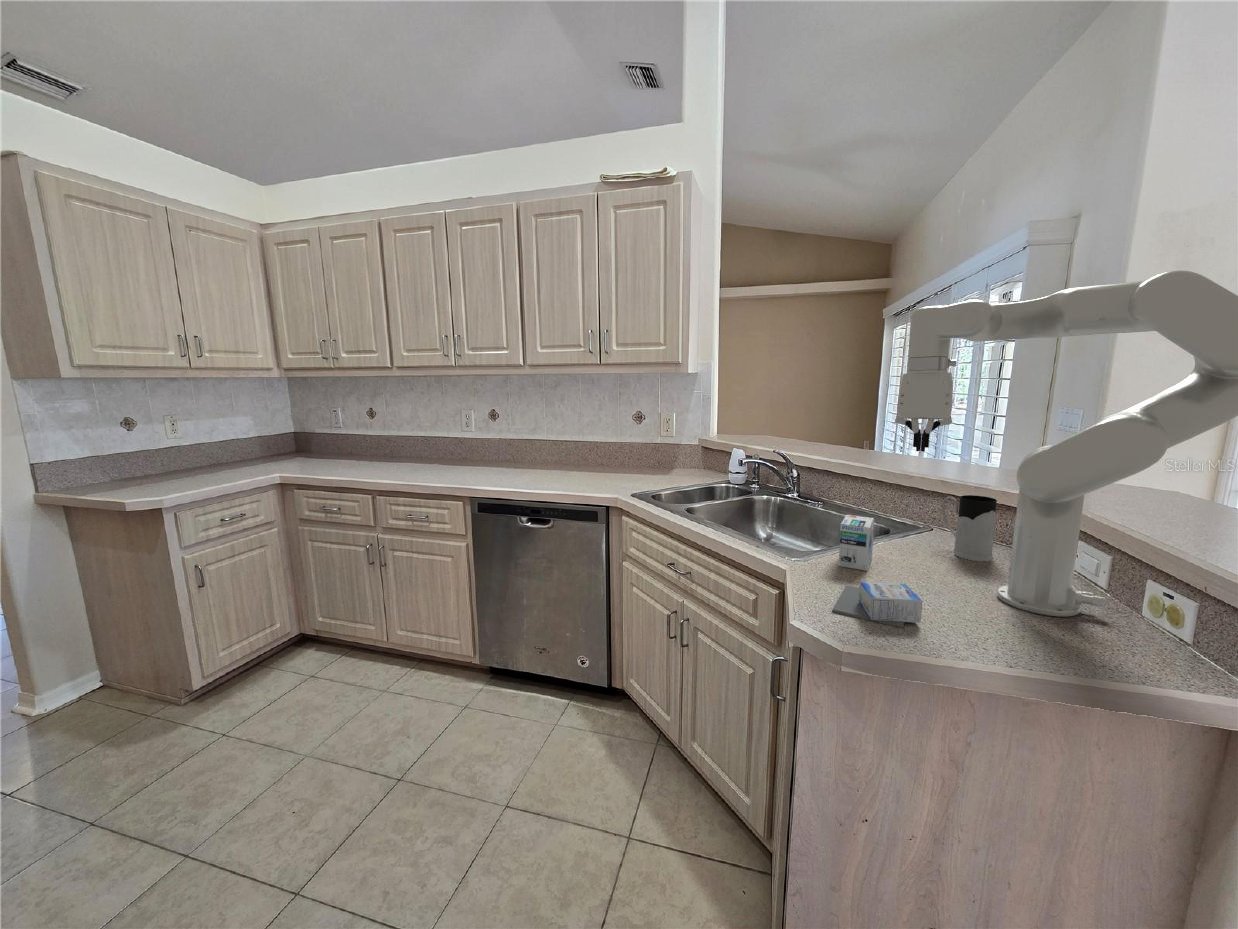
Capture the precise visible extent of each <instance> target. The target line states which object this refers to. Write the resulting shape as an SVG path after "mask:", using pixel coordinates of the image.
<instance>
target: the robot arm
mask: <svg viewBox="0 0 1238 929" xmlns="http://www.w3.org/2000/svg"><path fill="white" fill-rule="evenodd" d="M909 322H910V325H909V337H908V352H907V353H908V354H907V364H906V373H903V374H902V377H901V380H900V385H899V391H898V396H897V406H896V416H895V419H894V423H896V424H898V425H901V426H906V427H907V428H908V429H909V430H911V431H912V433H913V440H912V448H915V452H922V453H923V452H925V451H926V448H928V449H929V447H930V436H931V433H932V432H933V431H934V430H936V429H937V428H939V427H942V426H948V425H952V423H953V419H952V415H951V414H952V410H953V398H954V397H953V396H954V394H953V393H954V386H953V385H954V384H953V373H952V372H948V371H949V370H948V369H950V368H952V367H957V361H958V360H957V359H951V358H950V345H951V339H962V340H966V341H970V342H975V343H976V342H979V343H980V342H994V341H995V342H996V341H1009V340H1026V339H1037V338H1038V339H1041V338H1042V339H1043V338H1044V339H1045V338H1053V339H1055V338H1063V337H1064V338H1065V337H1067V338H1068V337H1082V336H1095V335H1109V334H1125V333H1126V334H1128V333H1143V332H1144V333H1146V332H1157V333H1158V334H1160V336H1163V337H1164V338H1166V340H1169V341H1170V342H1172V343H1173V344H1175V345H1176V346H1178V347H1179V348H1181V349H1182V350H1184V351H1185V352H1187V353H1189V354H1190V355H1192V356H1193V360H1194V368H1193V369H1192V371H1191V372H1190V374H1189V375H1188V376H1187V377H1185V378H1183V380H1181V381H1180V382H1178V383H1177V384H1175V385H1173V386H1171V387H1169V388H1166V389H1165V390H1163V391H1160V392H1159V393H1157V394H1156V395H1154V396H1151V397H1149V398H1147V399H1145V400H1143V401H1141V402H1139V403H1138V404H1137V403H1136V404H1135V405H1133V406H1130V407H1128V408H1126V409H1124V410H1120V411H1118V412H1115V413H1113V414H1110V415H1108V416H1105V417H1103V418H1101V419H1099V420H1098V421H1097V422H1095V423H1094V424H1093V425H1091V426H1089V427H1088V428H1085V429H1083V430H1082V431H1079V432H1077V433H1075V434H1072V435H1071V436H1068V437H1066V438H1065V439H1063V440H1061V441H1058V442H1056V443H1054V444H1051V445H1050V444H1049V445H1044V446H1040V447H1038V448H1036V449H1034V450H1032V451H1031V452H1029V453H1028V454H1027V455H1026V456H1025V457H1024V458H1023V460H1022V461H1021V462H1020V464H1019V465H1018V468H1017V471H1016V482H1017V484H1018V487H1019V489H1018V498H1017V504H1016V513H1015V522H1014V528H1013V536H1012V548H1011V555H1010V564H1009V570H1008V571H1009V572H1008V573H1009V574H1008V579H1007V580H1008V581H1007V585H1002V586H1000V587H998V588H997V590H996V596H997V597H998V599H1000V600H1001V601H1003V602H1004V603H1006V604H1008V605H1010V606H1012V607H1014V608H1017V609H1020V610H1023V611H1026V612H1030V613H1034V614H1038V615H1044V616H1049V617H1050V616H1051V617H1074V616H1076V615H1079V614H1080V613H1081V608H1082V607H1081V606H1082V604H1083V605H1088V606H1092V607H1096V608H1105V607H1106V597H1103V596H1099V595H1097V596H1096V595H1094V593H1093V592H1089V591H1080V590H1078V589H1077V588H1075V586H1074V585H1073V582H1074V574H1075V569H1076V568H1075V566H1076V559H1077V553H1078V552H1077V551H1078V544H1079V536H1080V532H1081V524H1082V518H1083V509H1084V502H1085V501H1084V500H1085V496H1086V495H1087V494H1089V493H1092V492H1094V491H1097V490H1099V489H1102V488H1104V487H1107V486H1109V485H1112V484H1114V483H1116V482H1119V481H1121V480H1124V479H1126V478H1128V477H1131V476H1134V475H1136V474H1138V473H1140V472H1143V471H1146V470H1147V469H1148V468H1150V467H1152V466H1154V465H1155V464H1156V463H1158V462H1159V461H1160V460H1161V459H1163V457H1164V455H1165V454H1166V453H1167V450H1168V449H1170V448H1172V447H1175V446H1176V445H1179V444H1182V443H1184V442H1186V441H1189V440H1191V439H1193V438H1195V437H1197V436H1200V435H1201V434H1203V433H1206V432H1208V431H1210V430H1213V429H1214V428H1217V427H1219V426H1221V425H1222V424H1225V423H1226V422H1229V421H1230V420H1233V419H1235V418H1236V417H1238V295H1237V294H1236V293H1234V292H1232V291H1230V290H1229V289H1227V288H1225V287H1224V286H1222V285H1220V284H1219V283H1216V282H1215V281H1213V280H1212V279H1211V278H1208V277H1206V276H1204V275H1202V274H1200V273H1197V272H1194V271H1189V270H1181V269H1180V270H1172V271H1166V272H1163V273H1159V274H1157V275H1155V276H1152V277H1150V278H1149V279H1144V280H1136V281H1135V280H1134V281H1133V280H1132V281H1128V282H1119V283H1110V284H1109V283H1108V284H1100V285H1089V286H1081V287H1072V288H1067V289H1063V290H1060V291H1057V292H1054V293H1053V294H1050V295H1047V296H1044V297H1041V298H1036V299H1030V300H1025V301H1016V302H1007V303H997V304H990V303H989V302H988V301H985V300H981V299H971V300H966V301H961V302H957V303H952V304H949V305H931V306H924V307H920V308H916V309H915V310H914V311H913V312H912V313H911V315H910V321H909ZM920 420H927V421H926V425H925V429H923V432H922V430H921V428H920V424H919V423H920V422H919V421H920Z"/></svg>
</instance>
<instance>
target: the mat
mask: <svg viewBox="0 0 1238 929" xmlns="http://www.w3.org/2000/svg"><path fill="white" fill-rule="evenodd" d="M831 610H832V613H835V614H840V615H845V616H849V617H853V618H858V619H862V620H866V621H870V622H874V623H875V622H876V623H880V624H884V625H888V626H891V627H892V626H893V627H896V626H897V628H902V629H903V628H904V626H905V624H906V622H898V621H883V620H872V619H871V618H870V617H869V615H868V614H867V612H866V611H865V609H864V608H863V606H862V605H861V604H860V602H859V587H855V586H852V585H847V584H846V585H845V587H844V588H843V590H842V592H841V593H840V595H839V597H838V599H837V600H836V602H835V604H834V606H833V607H832V609H831Z"/></svg>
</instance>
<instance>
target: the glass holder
mask: <svg viewBox="0 0 1238 929" xmlns="http://www.w3.org/2000/svg"><path fill="white" fill-rule="evenodd" d="M948 499H951V500H952V501H954V504H955V514H956V515H957V517H956V518H957V519H956V528H955V529H956V530H954V529H953V527H951V525H950V523H949V521H948V518H947V515H946V510H945V508H946V501H947V500H948ZM997 501H998V499H996V498H994V497H989V496H983V495H973V494H972V495H971V494H969V495H968V494H965V495H961V496H960V497H959V503H958V500H957V499H956V498H955V497H954V496H947V497H944V498H943V500H942V503H941V513H942V517H943V520H944V523H945V525H946V526H947V528H948V529H949V530H950V532H951V534H953V536H954V538H955V540H954V541H955V542H954V548H953V549H952V551H953V553H954V555H953V556H955V555H957V556H959V557H958V558H960V557H961V558H960V559H963V558H965V559H964V560H967V559H968V561H974V562H983V561H986V562H992V561H993V560H994V559H995V556H994V555H993V548H994V539H995V531H996V521H997V505H998V502H997ZM957 556H956V557H957Z"/></svg>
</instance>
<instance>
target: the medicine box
mask: <svg viewBox="0 0 1238 929" xmlns="http://www.w3.org/2000/svg"><path fill="white" fill-rule="evenodd" d="M858 588H859V602H860V604H861V605H862V606H863V608H864V609H865V611H866V612H867V614H868V615H869V617H870V618H871V619H872V620H883V621H898V622H905V623H916V624H917V623H918V624H919V623H921V620H922V613H923V612H922V609H923V600H922V599H921V598H920V597H919V596H918V595H917V594H916V593H915V592H914V591H913V590H912V589H911V588H910V587H909V586H908V585H907V584H905V583H891V582H889V583H887V582H885V583H884V582H872V581H871V582H870V581H860V582H859V587H858Z"/></svg>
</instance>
